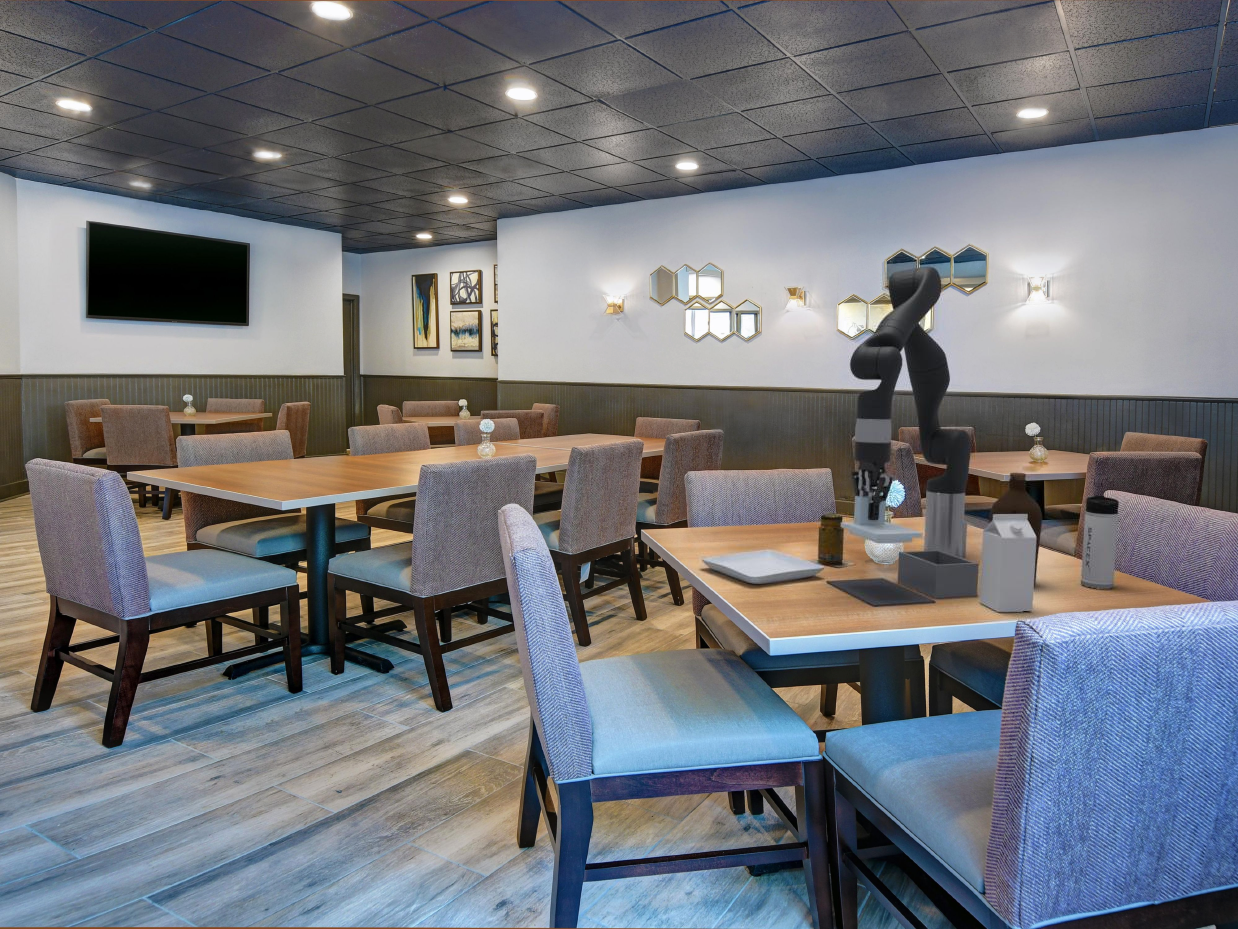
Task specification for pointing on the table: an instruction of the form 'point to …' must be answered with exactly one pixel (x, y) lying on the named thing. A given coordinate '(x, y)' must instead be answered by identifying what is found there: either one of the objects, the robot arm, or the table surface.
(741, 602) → the table surface
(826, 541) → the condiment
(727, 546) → the table surface
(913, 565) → the tub
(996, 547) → the milk carton
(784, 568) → the salad plate
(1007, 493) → the olive oil
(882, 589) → the mat
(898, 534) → the lid
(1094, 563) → the travel mug
